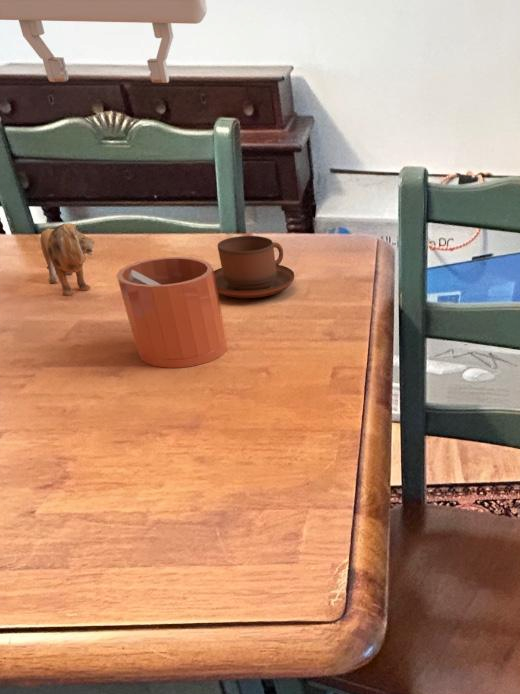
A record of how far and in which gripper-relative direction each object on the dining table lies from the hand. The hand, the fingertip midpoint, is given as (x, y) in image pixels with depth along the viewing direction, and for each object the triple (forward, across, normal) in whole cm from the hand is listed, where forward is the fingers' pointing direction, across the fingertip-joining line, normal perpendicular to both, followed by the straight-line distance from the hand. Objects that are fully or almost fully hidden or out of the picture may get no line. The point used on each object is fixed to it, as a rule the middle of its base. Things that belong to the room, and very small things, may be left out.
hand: (110, 81), depth 71 cm
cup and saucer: (+26, +8, +19) cm, 33 cm away
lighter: (+22, +5, -1) cm, 22 cm away
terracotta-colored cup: (+26, +2, -1) cm, 26 cm away
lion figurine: (+27, -16, +23) cm, 39 cm away
